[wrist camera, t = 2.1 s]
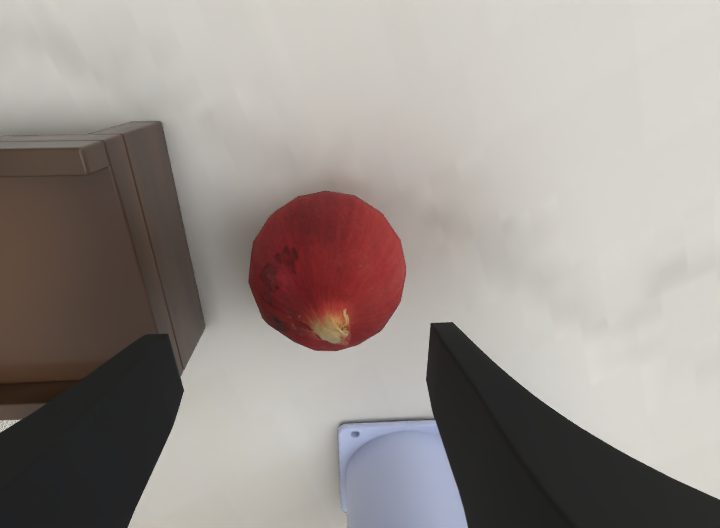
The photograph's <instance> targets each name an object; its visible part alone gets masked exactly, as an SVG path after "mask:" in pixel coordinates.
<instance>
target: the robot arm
mask: <svg viewBox="0 0 720 528" xmlns="http://www.w3.org/2000/svg"><path fill="white" fill-rule="evenodd" d="M426 381H427V386H428V391H429V397H430V402H431V406H432V411H433V415H434V418H435V420H419V421H397V422H374V423H352V424H343V425H341V426H340V427H339V428H338V447H339V470H340V494H341V510H342V511H343V512H344V513H347V528H720V500H719V499H717V498H715V497H712V496H710V495H708V494H706V493H704V492H701V491H699V490H697V489H695V488H692V487H690V486H688V485H686V484H684V483H681V482H679V481H677V480H675V479H673V478H671V477H669V476H667V475H665V474H663V473H661V472H659V471H657V470H655V469H653V468H651V467H649V466H647V465H645V464H643V463H641V462H639V461H638V460H636V459H634V458H632V457H630V456H628V455H626V454H625V453H623V452H621V451H619V450H617V449H616V448H614V447H612V446H610V445H609V444H607V443H605V442H604V441H602V440H600V439H599V438H597V437H595V436H594V435H592V434H590V433H589V432H587V431H585V430H584V429H582V428H580V427H579V426H577V425H576V424H574V423H573V422H571V421H570V420H568V419H567V418H565V417H564V416H562V415H561V414H559V413H558V412H556V411H555V410H554V409H552V408H551V407H549V406H548V405H546V404H545V403H544V402H542V401H541V400H539V399H538V398H537V397H535V396H534V395H533V394H531V393H530V392H529V391H528V390H527V389H525V388H524V387H523V386H522V385H520V384H519V383H518V382H517V381H515V380H514V379H513V378H512V377H510V376H509V375H508V374H507V373H506V372H505V371H503V370H502V369H501V368H500V367H499V366H498V365H497V364H496V363H495V362H493V361H492V360H491V359H490V358H489V357H488V356H487V355H486V354H485V353H484V352H483V351H482V350H481V349H480V348H478V347H477V346H476V345H475V344H474V343H473V342H472V341H471V340H470V339H469V338H468V337H467V336H466V335H465V334H464V333H463V332H462V331H461V330H460V329H459V328H458V327H457V326H456V325H455V324H454V323H453V322H446V323H431V327H430V339H429V352H428V364H427V376H426ZM183 392H184V389H183V386H182V382H181V378H180V375H179V371H178V367H177V364H176V360H175V356H174V353H173V349H172V345H171V342H170V338H169V334H168V333H167V334H145V335H144V336H142V337H140V338H139V339H137V340H136V341H134V342H133V343H131V344H130V345H129V346H127V347H126V348H124V349H123V350H122V351H120V352H119V353H118V354H116V355H115V356H113V357H112V358H111V359H109V360H108V361H107V362H105V363H104V364H102V365H101V366H100V367H98V368H97V369H95V370H94V371H93V372H91V373H90V374H89V375H87V376H86V377H84V378H83V379H82V380H80V381H79V382H77V383H76V384H75V385H73V386H72V387H70V388H69V389H67V390H66V391H64V392H63V393H61V394H60V395H58V396H57V397H55V398H54V399H52V400H51V401H49V402H48V403H46V404H45V405H43V406H42V407H40V408H39V409H38V410H36V411H35V412H33V413H32V414H30V415H28V416H27V417H25V418H24V419H22V420H20V421H19V422H17V423H16V424H14V425H12V426H11V427H9V428H7V429H6V430H4V431H2V432H1V433H0V528H128V525H129V523H130V520H131V518H132V515H133V513H134V511H135V508H136V506H137V504H138V502H139V500H140V497H141V495H142V493H143V491H144V489H145V487H146V484H147V482H148V480H149V478H150V476H151V474H152V471H153V469H154V467H155V465H156V463H157V461H158V458H159V456H160V454H161V452H162V450H163V447H164V445H165V443H166V441H167V438H168V436H169V434H170V432H171V429H172V427H173V425H174V422H175V418H176V415H177V412H178V409H179V406H180V402H181V399H182V395H183ZM353 431H357V432H353Z"/></svg>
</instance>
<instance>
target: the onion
mask: <svg viewBox="0 0 720 528" xmlns="http://www.w3.org/2000/svg"><path fill="white" fill-rule="evenodd" d="M405 277H406V264H405V259H404V255H403V250H402V245H401V240H400V239H399V237H398V236H397V234H396V233H395V231H394V230H393V228H392V227H391V225H390V224H389V222H388V221H387V220H386V218H385V217H384V215H383V214H382V213H381V212H380V211H378V210H377V209H375V208H373V207H372V206H370V205H369V204H367V203H366V202H364V201H362V200H361V199H359V198H358V197H356V196H355V195H348V194H342V193H336V192H330V191H322V192H317V193H313V194H308V195H303V196H298V197H297V198H295V199H294V200H292V201H290V202H289V203H287V204H286V205H284V206H283V207H281V208H280V209H278V210H277V211H275V212H274V213H273V214H272V215H271V216H270V217H269V218H268V219H267V221H266V223H265V224H264V226H263V227H262V229H261V230H260V232H259V234H258V235H257V237H256V238H255V240H254V241H253V246H252V252H251V261H250V270H249V285H250V288H251V291H252V293H253V296H254V298H255V301H256V303H257V306H258V308H259V311H260V313H261V316H262V318H263V319H264V320H265V322H266V323H267V324H268V325H270V326H271V327H273V328H274V329H276V330H277V331H279V332H280V333H282V334H283V335H285V336H286V337H288V338H289V339H291V340H292V341H294V342H296V343H298V344H300V345H303V346H305V347H308V348H310V349H312V350H316V351H338V350H342V349H345V348H349V347H352V346H356V345H358V344H360V343H362V342H363V341H365V340H367V339H368V338H370V337H372V336H373V335H375V334H377V333H378V332H380V331H381V330H382V329H383V328H384V327H385V325H386V324H387V322H388V320H389V319H390V317H391V316H392V314H393V313H394V311H395V310H396V308H397V307H398V305H399V303H400V301H401V297H402V292H403V287H404V282H405Z"/></svg>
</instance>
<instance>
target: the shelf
mask: <svg viewBox="0 0 720 528" xmlns="http://www.w3.org/2000/svg"><path fill="white" fill-rule="evenodd" d="M204 329H205V324H204V319H203V315H202V310H201V305H200V301H199V296H198V291H197V287H196V282H195V277H194V273H193V268H192V263H191V259H190V254H189V249H188V244H187V240H186V235H185V230H184V226H183V221H182V216H181V212H180V207H179V202H178V198H177V193H176V188H175V184H174V179H173V174H172V170H171V165H170V160H169V156H168V151H167V146H166V142H165V137H164V132H163V128H162V123H161V122H159V121H143V122H129V123H126V124H122V125H119V126H115V127H112V128H108V129H105V130H101V131H98V132H94V133H91V134H88V135H31V136H0V420H21V419H24V418H25V417H27V416H28V415H30V414H32V413H33V412H35V411H36V410H38V409H39V408H40V407H42V406H43V405H45V404H46V403H48V402H49V401H51V400H52V399H54V398H55V397H57V396H58V395H60V394H61V393H63V392H64V391H66V390H67V389H69V388H70V387H72V386H73V385H75V384H76V383H77V382H79V381H80V380H82V379H83V378H84V377H86V376H87V375H89V374H90V373H91V372H93V371H94V370H95V369H97V368H98V367H100V366H101V365H102V364H104V363H105V362H107V361H108V360H109V359H111V358H112V357H113V356H115V355H116V354H118V353H119V352H120V351H122V350H123V349H124V348H126V347H127V346H129V345H130V344H131V343H133V342H134V341H136V340H137V339H139V338H140V337H142V336H144V335H145V334H167V333H168V334H169V338H170V342H171V345H172V349H173V353H174V356H175V360H176V364H177V367H178V371H179V375H180V377H181V375H182V373H183V370H184V369H185V367H186V365H187V363H188V361H189V359H190V357H191V355H192V353H193V351H194V349H195V347H196V345H197V343H198V341H199V339H200V337H201V335H202V333H203V331H204Z"/></svg>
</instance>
